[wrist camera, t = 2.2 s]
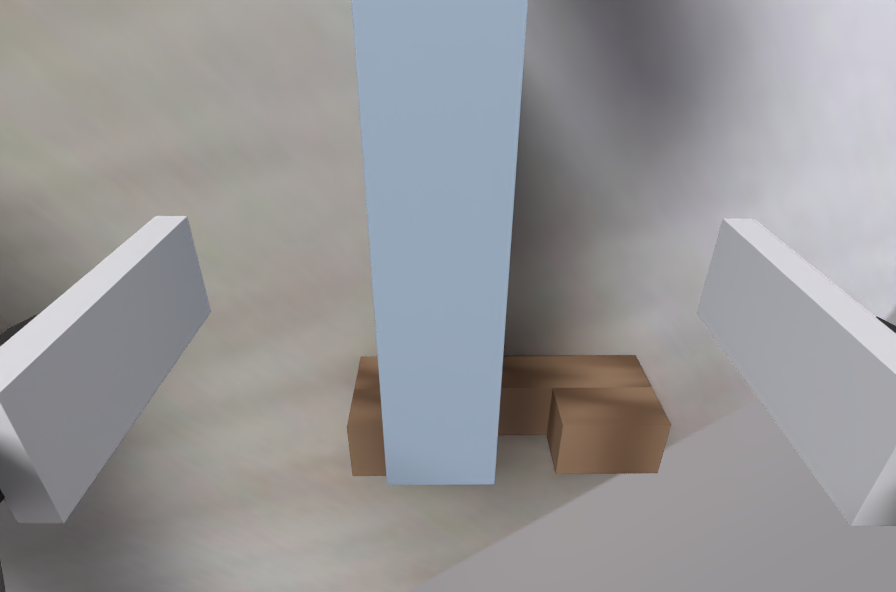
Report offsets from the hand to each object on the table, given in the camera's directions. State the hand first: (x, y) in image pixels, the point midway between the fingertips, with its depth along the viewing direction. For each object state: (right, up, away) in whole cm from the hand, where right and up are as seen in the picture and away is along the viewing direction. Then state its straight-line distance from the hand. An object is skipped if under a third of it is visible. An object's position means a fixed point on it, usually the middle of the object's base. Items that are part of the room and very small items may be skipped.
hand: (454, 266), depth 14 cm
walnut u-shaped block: (+2, -5, +15) cm, 16 cm away
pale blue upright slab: (0, +5, +9) cm, 10 cm away
